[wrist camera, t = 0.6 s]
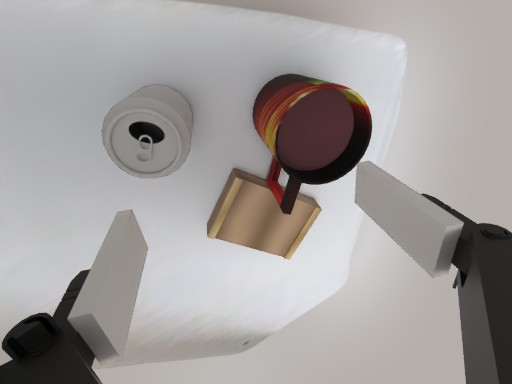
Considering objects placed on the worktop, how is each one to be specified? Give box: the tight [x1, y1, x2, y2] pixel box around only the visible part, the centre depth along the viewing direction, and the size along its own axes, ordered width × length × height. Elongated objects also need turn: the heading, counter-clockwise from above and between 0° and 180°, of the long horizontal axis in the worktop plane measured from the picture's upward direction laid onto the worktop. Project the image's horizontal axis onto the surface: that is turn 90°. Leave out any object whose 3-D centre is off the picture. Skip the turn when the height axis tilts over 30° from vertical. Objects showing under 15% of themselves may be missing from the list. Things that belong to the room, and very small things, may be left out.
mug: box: [253, 74, 372, 215], centre depth 32 cm, size 10×14×12 cm
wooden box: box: [207, 168, 322, 260], centre depth 41 cm, size 14×10×3 cm
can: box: [102, 84, 193, 178], centre depth 28 cm, size 8×8×12 cm
